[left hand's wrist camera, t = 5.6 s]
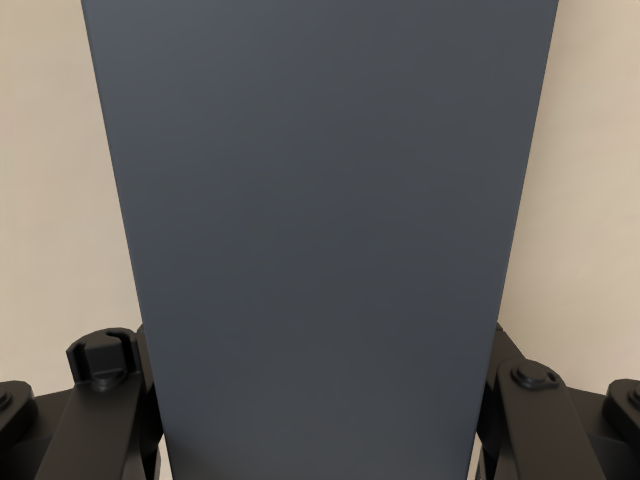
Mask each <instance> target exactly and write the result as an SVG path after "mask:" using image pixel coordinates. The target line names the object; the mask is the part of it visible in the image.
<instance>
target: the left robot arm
mask: <svg viewBox="0 0 640 480" xmlns="http://www.w3.org/2000/svg"><path fill="white" fill-rule="evenodd" d="M66 354H67V358H68V361H69V365H70V368H71V372H72V375H73V379H74V382H75V385H74V388H72V389H69V390H65V391H61V392H56V393H51V394H47V395H42V396H37V397H34V394H33V391H32V388H31V386H30V385H29V384H27V383H26V382H23V381H15V380H14V381H7V382H0V480H159V474H160V465H161V457H160V451H159V446H158V444H159V442H160V440H161V437H162V435H163V433H164V431H163V426H162V421H161V415H160V410H159V405H158V400H157V395H156V389H155V384H154V379H153V374H152V369H151V363H150V358H149V353H148V348H147V343H146V337H145V332H144V327H143V324H142V325H141V326H140V327H139V329H138V330H137V333H134V332H133V331H132V330H130V329H125V328H107V329H103V330H99V331H95V332H93V333H90V334H88V335H85V336H83V337H81V338H80V339H78V340H77V341H75V342H74V343H72V344H71V346H70V347H69V348H68V349H67V350H66ZM476 432H477V434H478V436H479V438H480V440H481V443H482V446H481V451H480V456H479V461H478V466H477V471H476V476H475V480H640V381H638V380H631V379H620V380H615V381H613V382H612V383H611V384H609V387H608V390H607V393H606V395H601V394H597V393H592V392H587V391H582V390H578V389H574V388H570V387H566V385H565V383H564V381H563V380H562V379H561V377H560V376H559V375H558V374H557V373H555V372H554V371H553V370H552V369H550V368H549V367H547V366H545V365H543V364H540V363H538V362H536V361H532V360H528V359H526V358H525V357H524V356H523V354H522V353H521V352H520V351H519V349H518V348H517V347H516V345H515V344H514V343H513V342H512V340H511V339H510V338H509V336H508V335H507V334H506V333H505V331H503V329H502V327H501V326H500V325H499V323H498V322H497V324H496V330H495V335H494V340H493V345H492V351H491V356H490V361H489V366H488V371H487V377H486V382H485V387H484V392H483V398H482V403H481V408H480V413H479V418H478V424H477V429H476Z"/></svg>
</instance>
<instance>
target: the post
mask: <svg viewBox="0 0 640 480" xmlns="http://www.w3.org/2000/svg"><path fill="white" fill-rule="evenodd" d="M558 1H559V0H81V4H82V9H83V15H84V20H85V25H86V30H87V35H88V41H89V46H90V51H91V56H92V61H93V67H94V72H95V77H96V82H97V87H98V93H99V98H100V103H101V108H102V113H103V119H104V124H105V129H106V134H107V139H108V145H109V150H110V155H111V160H112V166H113V171H114V176H115V181H116V186H117V192H118V197H119V202H120V207H121V212H122V218H123V223H124V228H125V233H126V238H127V244H128V249H129V254H130V259H131V264H132V270H133V275H134V280H135V285H136V291H137V296H138V301H139V306H140V311H141V317H142V322H143V327H144V332H145V337H146V343H147V348H148V353H149V358H150V363H151V369H152V374H153V379H154V384H155V389H156V395H157V400H158V405H159V410H160V415H161V421H162V426H163V431H164V436H165V442H166V447H167V452H168V457H169V462H170V468H171V473H172V478H173V480H467V476H468V471H469V465H470V460H471V455H472V450H473V445H474V439H475V434H476V429H477V424H478V418H479V413H480V408H481V403H482V398H483V392H484V387H485V382H486V377H487V371H488V366H489V361H490V356H491V351H492V345H493V340H494V335H495V330H496V324H497V319H498V314H499V309H500V304H501V298H502V293H503V288H504V283H505V277H506V272H507V267H508V262H509V257H510V251H511V246H512V241H513V236H514V230H515V225H516V220H517V215H518V210H519V204H520V199H521V194H522V189H523V184H524V178H525V173H526V168H527V163H528V157H529V152H530V147H531V142H532V137H533V131H534V126H535V121H536V116H537V110H538V105H539V100H540V95H541V90H542V84H543V79H544V74H545V69H546V63H547V58H548V53H549V48H550V43H551V37H552V32H553V27H554V22H555V16H556V11H557V6H558Z"/></svg>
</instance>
